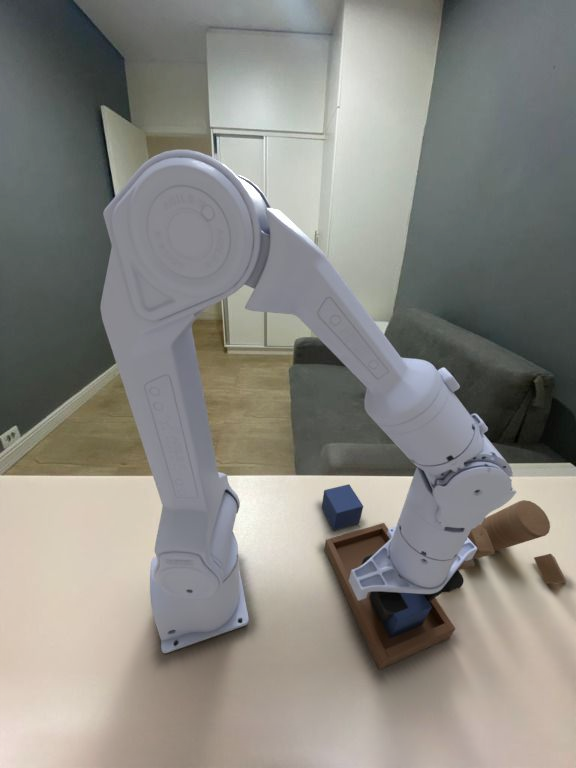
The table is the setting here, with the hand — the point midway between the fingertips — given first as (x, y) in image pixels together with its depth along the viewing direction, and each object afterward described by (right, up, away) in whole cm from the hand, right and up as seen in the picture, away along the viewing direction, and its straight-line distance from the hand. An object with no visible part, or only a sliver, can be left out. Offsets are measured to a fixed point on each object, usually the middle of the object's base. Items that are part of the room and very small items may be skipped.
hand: (397, 605), depth 37 cm
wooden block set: (+15, +1, +8) cm, 17 cm away
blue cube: (0, -1, +1) cm, 1 cm away
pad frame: (-1, 0, +3) cm, 4 cm away
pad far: (-5, +5, +13) cm, 15 cm away
